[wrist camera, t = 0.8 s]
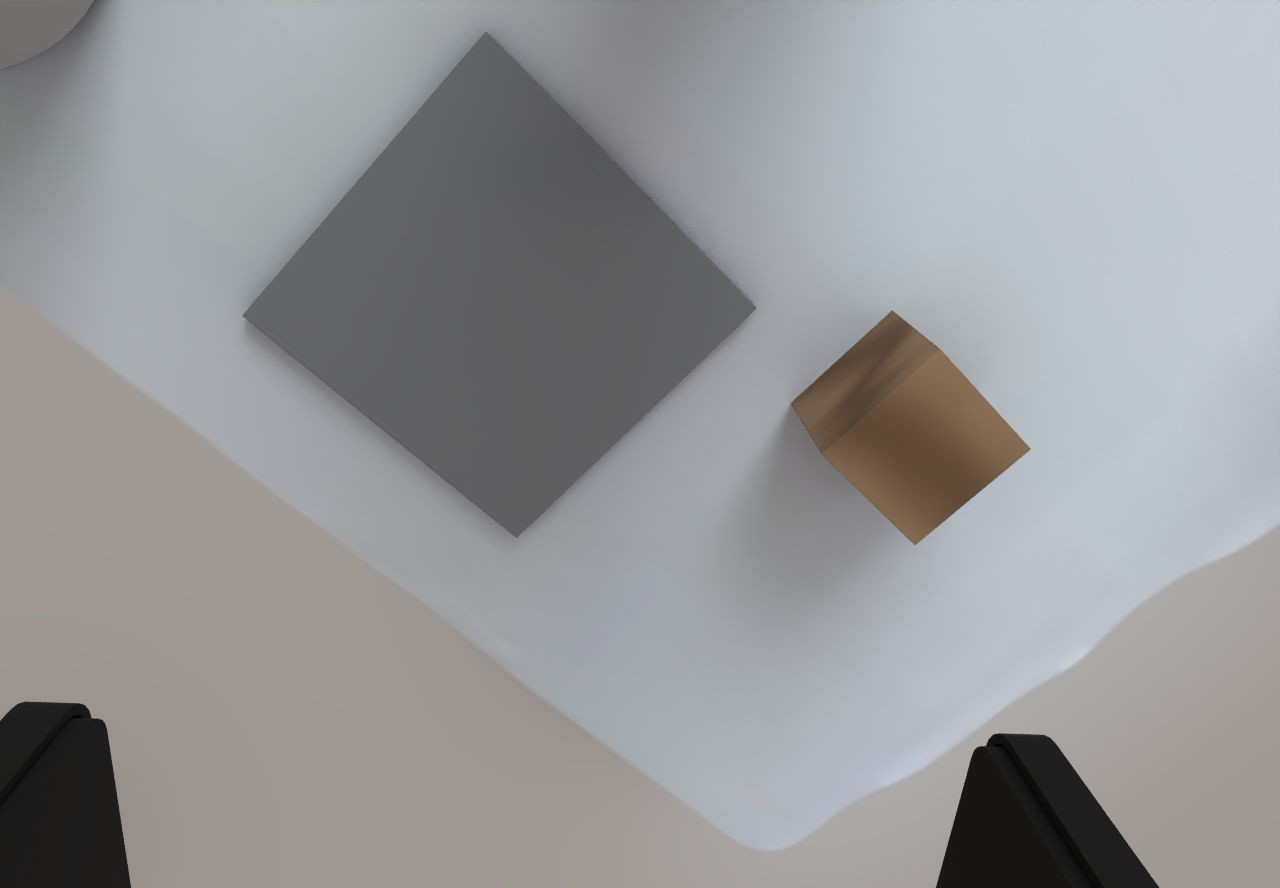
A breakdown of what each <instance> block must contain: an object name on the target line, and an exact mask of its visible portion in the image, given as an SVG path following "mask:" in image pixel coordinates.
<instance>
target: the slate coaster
mask: <svg viewBox="0 0 1280 888" xmlns="http://www.w3.org/2000/svg"><path fill="white" fill-rule="evenodd" d="M755 309H756V307H755V305H754V304H753V303H752V302H751V301H750V300H749V299H748V298H747V297H746V296H745V295H744V294H743V293H742V292H741V291H740V290H739V289H738V288H737V287H736V286H735V285H734V284H733V283H732V282H731V281H730V280H729V279H728V277H727V276H726V275H725V274H724V273H723V272H722V271H721V270H720V269H719V268H718V267H717V266H716V265H715V264H714V263H713V262H712V261H711V260H710V259H709V258H708V257H707V256H706V255H705V254H704V253H703V252H702V251H701V250H700V249H699V248H698V247H697V246H696V245H695V244H694V243H693V242H692V241H691V240H690V239H689V238H688V237H687V236H686V235H685V234H684V233H683V231H682V230H681V229H680V228H679V227H678V226H677V225H676V224H675V223H674V222H673V221H672V220H671V219H670V218H669V217H668V216H667V215H666V214H665V213H664V212H663V211H662V210H661V209H660V208H659V207H658V206H657V205H656V204H655V203H654V202H653V201H652V200H651V199H650V198H649V197H648V196H647V195H646V194H645V193H644V192H643V191H642V190H641V189H640V188H639V187H638V185H637V184H636V183H635V182H634V181H633V180H632V179H631V178H630V177H629V176H628V175H627V174H626V173H625V172H624V171H623V170H622V169H621V168H620V167H619V166H618V165H617V164H616V163H615V162H614V161H613V160H612V159H611V158H610V157H609V156H608V155H607V154H606V153H605V152H604V151H603V150H602V149H601V148H600V147H599V146H598V145H597V144H596V143H595V142H594V140H593V139H592V138H591V137H590V136H589V135H588V134H587V133H586V132H585V131H584V130H583V129H582V128H581V127H580V126H579V125H578V124H577V123H576V122H575V121H574V120H573V119H572V118H571V117H570V116H569V115H568V114H567V113H566V112H565V111H564V110H563V109H562V108H561V107H560V106H559V105H558V104H557V103H556V102H555V101H554V100H553V99H552V98H551V97H550V96H549V94H548V93H547V92H546V91H545V90H544V89H543V88H542V87H541V86H540V85H539V84H538V83H537V82H536V81H535V80H534V79H533V78H532V77H531V76H530V75H529V74H528V73H527V72H526V71H525V70H524V69H523V68H522V67H521V66H520V65H519V64H518V63H517V62H516V61H515V60H514V59H513V58H512V57H511V56H510V55H509V54H508V53H507V52H506V51H505V50H504V48H503V47H502V46H501V45H500V44H499V43H498V42H497V41H496V40H495V39H494V38H493V37H492V36H491V35H490V34H489V33H488V32H485V34H484V35H483V36H482V37H481V38H480V39H479V41H478V42H477V43H476V44H475V45H474V46H473V48H472V49H471V50H470V51H469V52H468V53H467V55H466V56H465V57H464V58H463V59H462V60H461V62H460V63H459V64H458V65H457V66H456V67H455V69H454V70H453V71H452V72H451V73H450V74H449V76H448V77H447V78H446V79H445V80H444V81H443V83H442V84H441V85H440V86H439V87H438V88H437V90H436V91H435V92H434V93H433V94H432V95H431V97H430V98H429V99H428V100H427V101H426V102H425V104H424V105H423V106H422V107H421V108H420V109H419V110H418V112H417V113H416V114H415V115H414V116H413V117H412V119H411V120H410V121H409V122H408V123H407V124H406V126H405V127H404V128H403V129H402V130H401V131H400V133H399V134H398V135H397V136H396V137H395V138H394V140H393V141H392V142H391V143H390V144H389V145H388V147H387V148H386V149H385V150H384V151H383V152H382V154H381V155H380V156H379V157H378V158H377V159H376V161H375V162H374V163H373V164H372V165H371V166H370V168H369V169H368V170H367V171H366V172H365V173H364V175H363V176H362V177H361V178H360V179H359V180H358V182H357V183H356V184H355V185H354V186H353V187H352V189H351V190H350V191H349V192H348V193H347V194H346V196H345V197H344V198H343V199H342V200H341V201H340V203H339V204H338V205H337V206H336V207H335V208H334V210H333V211H332V212H331V213H330V214H329V215H328V217H327V218H326V219H325V220H324V221H323V222H322V224H321V225H320V226H319V227H318V228H317V229H316V231H315V232H314V233H313V234H312V235H311V236H310V238H309V239H308V240H307V241H306V242H305V243H304V245H303V246H302V247H301V248H300V249H299V250H298V252H297V253H296V254H295V255H294V256H293V257H292V259H291V260H290V261H289V262H288V263H287V264H286V266H285V267H284V268H283V269H282V270H281V271H280V273H279V274H278V275H277V276H276V277H275V278H274V280H273V281H272V282H271V283H270V284H269V285H268V287H267V288H266V289H265V290H264V291H263V292H262V294H261V295H260V296H259V297H258V298H257V299H256V301H255V302H254V303H253V304H252V305H251V306H250V308H249V309H248V310H247V311H246V312H245V313H244V315H243V317H244V318H245V319H247V320H248V321H249V322H250V323H252V324H253V325H254V326H255V327H257V328H258V329H259V330H260V331H262V332H263V333H264V334H265V335H266V336H268V337H269V338H270V339H271V340H273V341H274V342H275V343H276V344H278V345H279V346H280V347H281V348H283V349H284V350H285V351H286V352H287V353H289V354H290V355H291V356H292V357H294V358H295V359H296V360H297V361H299V362H300V363H301V364H302V365H304V366H305V367H306V368H307V369H309V370H310V371H311V372H312V373H313V374H315V375H316V376H317V377H318V378H320V379H321V380H322V381H323V382H325V383H326V384H327V385H328V386H330V387H331V388H332V389H333V390H334V391H336V392H337V393H338V394H339V395H341V396H342V397H343V398H344V399H346V400H347V401H348V402H349V403H351V404H352V405H353V406H354V407H356V408H357V409H358V410H359V411H360V412H362V413H363V414H364V415H365V416H367V417H368V418H369V419H370V420H372V421H373V422H374V423H375V424H377V425H378V426H379V427H380V428H381V429H383V430H384V431H385V432H386V433H388V434H389V435H390V436H391V437H393V438H394V439H395V440H396V441H398V442H399V443H400V444H401V445H403V446H404V447H405V448H406V449H407V450H409V451H410V452H411V453H412V454H414V455H415V456H416V457H417V458H419V459H420V460H421V461H422V462H424V463H425V464H426V465H427V466H428V467H430V468H431V469H432V470H433V471H435V472H436V473H437V474H438V475H440V476H441V477H442V478H443V479H445V480H446V481H447V482H448V483H450V484H451V485H452V486H453V487H454V488H456V489H457V490H458V491H459V492H461V493H462V494H463V495H464V496H466V497H467V498H468V499H469V500H471V501H472V502H473V503H474V504H475V505H477V506H478V507H479V508H480V509H482V510H483V511H484V512H485V513H487V514H488V515H489V516H490V517H492V518H493V519H494V520H495V521H497V522H498V523H499V524H500V525H501V526H503V527H504V528H505V529H506V530H508V531H509V532H510V533H511V534H513V535H514V536H515V537H516V538H517V537H518V536H519V535H520V534H521V533H522V532H523V531H524V530H525V529H526V528H527V527H528V526H529V525H530V524H531V523H533V522H534V521H535V520H536V519H537V518H538V517H539V516H540V515H541V514H542V513H543V512H544V511H545V510H546V509H547V508H548V507H549V506H550V505H551V504H552V503H553V502H554V501H556V500H557V499H558V498H559V497H560V496H561V495H562V494H563V493H564V492H565V491H566V490H567V489H568V488H569V487H570V486H571V485H572V484H573V483H574V482H575V481H576V480H577V479H579V478H580V477H581V476H582V475H583V474H584V473H585V472H586V471H587V470H588V469H589V468H590V467H591V466H592V465H593V464H594V463H595V462H596V461H597V460H598V459H599V458H600V457H601V456H603V455H604V454H605V453H606V452H607V451H608V450H609V449H610V448H611V447H612V446H613V445H614V444H615V443H616V442H617V441H618V440H619V439H620V438H621V437H622V436H623V435H624V434H626V433H627V432H628V431H629V430H630V429H631V428H632V427H633V426H634V425H635V424H636V423H637V422H638V421H639V420H640V419H641V418H642V417H643V416H644V415H645V414H646V413H647V412H649V411H650V410H651V409H652V408H653V407H654V406H655V405H656V404H657V403H658V402H659V401H660V400H661V399H662V398H663V397H664V396H665V395H666V394H667V393H668V392H669V391H670V390H671V389H673V388H674V387H675V386H676V385H677V384H678V383H679V382H680V381H681V380H682V379H683V378H684V377H685V376H686V375H687V374H688V373H689V372H690V371H691V370H692V369H693V368H694V367H696V366H697V365H698V364H699V363H700V362H701V361H702V360H703V359H704V358H705V357H706V356H707V355H708V354H709V353H710V352H711V351H712V350H713V349H714V348H715V347H716V346H717V345H719V344H720V343H721V342H722V341H723V340H724V339H725V338H726V337H727V336H728V335H729V334H730V333H731V332H732V331H733V330H734V329H735V328H736V327H737V326H738V325H739V324H740V323H741V322H743V321H744V320H745V319H746V318H747V317H748V316H749V315H750V314H751V313H752V312H753V311H754V310H755Z"/></svg>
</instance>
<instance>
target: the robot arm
mask: <svg viewBox="0 0 1280 888" xmlns="http://www.w3.org/2000/svg"><path fill="white" fill-rule="evenodd" d="M0 888H131V884H130V878H129V871H128V864H127V858H126V851H125V845H124V838H123V832H122V825H121V818H120V812H119V806H118V799H117V792H116V786H115V779H114V772H113V766H112V760H111V753H110V746H109V740H108V733H107V728H106V725H105V723H104V722H103V720H100V719H92V718H91V715H90V711H89V710H88V708H87V707H86V706H85V705H83V704H79V703H49V702H48V703H47V702H22V703H19V704H17V705H16V706H15V707H14V708H12V709H11V710H10V711H9V712H8V713H7V714H6V715H5V716H4V717H3V719H2V720H1V721H0ZM936 888H1159V887H1158V885H1157V884H1156V883H1155V881H1154V880H1153V878H1152V877H1151V876H1150V874H1149V873H1148V871H1147V870H1146V869H1145V867H1144V866H1143V864H1142V863H1141V862H1140V860H1139V859H1138V857H1137V856H1136V855H1135V853H1134V852H1133V850H1132V849H1131V848H1130V846H1129V845H1128V844H1127V842H1126V841H1125V839H1124V838H1123V837H1122V835H1121V834H1120V833H1119V831H1118V830H1117V828H1116V827H1115V825H1114V824H1113V823H1112V821H1111V820H1110V818H1109V817H1108V816H1107V814H1106V813H1105V811H1104V810H1103V809H1102V807H1101V806H1100V804H1099V803H1098V802H1097V800H1096V799H1095V798H1094V796H1093V795H1092V793H1091V792H1090V791H1089V789H1088V788H1087V786H1086V785H1085V784H1084V782H1083V781H1082V780H1081V778H1080V777H1079V775H1078V774H1077V772H1076V771H1075V770H1074V768H1073V767H1072V765H1071V764H1070V763H1069V761H1068V760H1067V758H1066V757H1065V756H1064V754H1063V753H1062V752H1061V750H1060V749H1059V747H1058V746H1057V745H1056V744H1055V742H1054V741H1053V740H1052V739H1051V738H1050V737H1047V736H1045V735H1030V734H994V735H992V736H991V738H990V739H989V740H988V742H987V745H986V746H980V747H977V748H976V749H975V750H974V752H973V755H972V758H971V761H970V765H969V768H968V772H967V776H966V780H965V783H964V787H963V790H962V794H961V798H960V802H959V805H958V809H957V812H956V816H955V820H954V824H953V827H952V831H951V835H950V838H949V842H948V846H947V849H946V853H945V857H944V860H943V864H942V868H941V871H940V875H939V879H938V882H937V886H936Z"/></svg>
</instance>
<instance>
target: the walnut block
mask: <svg viewBox="0 0 1280 888" xmlns="http://www.w3.org/2000/svg"><path fill="white" fill-rule="evenodd" d="M791 404H792V406H793V407H794V409H795V411H796V412H797V414H798V416H799V417H800V419H801V421H802V422H803V424H804V426H805V427H806V429H807V431H808V432H809V434H810V436H811V437H812V439H813V441H814V442H815V444H816V446H817V447H818V449H819V450H820V452H821V454H822V455H823V456H824V457H825V458H826V459H827V460H828V461H829V462H830V463H831V464H832V465H833V466H834V467H835V468H836V469H837V470H838V471H839V472H840V473H841V474H843V475H844V476H845V477H846V478H847V479H848V480H849V481H850V482H851V483H852V484H853V485H854V486H855V487H856V488H857V489H858V490H859V491H860V492H861V493H862V494H863V495H864V496H865V497H866V498H867V499H868V500H869V501H870V502H871V503H872V504H873V505H874V506H875V507H876V508H877V509H878V510H879V511H880V512H881V513H882V514H883V515H884V516H885V517H886V518H887V519H888V520H889V521H891V522H892V523H893V524H894V525H895V526H896V527H897V528H898V529H899V530H900V531H901V532H902V533H903V534H904V535H905V536H906V537H907V538H908V539H909V540H910V541H911V542H912V543H913V544H914V545H916V544H917V543H918V542H919V541H921V540H922V539H923V538H924V537H925V536H927V535H928V534H929V533H930V532H932V531H933V530H934V529H935V528H936V527H938V526H939V525H940V524H941V523H942V522H944V521H945V520H946V519H947V518H948V517H950V516H951V515H952V514H953V513H954V512H956V511H957V510H958V509H959V508H960V507H962V506H963V505H964V504H965V503H966V502H968V501H969V500H970V499H971V498H973V497H974V496H975V495H976V494H977V493H979V492H980V491H981V490H982V489H983V488H985V487H986V486H987V485H988V484H989V483H991V482H992V481H993V480H994V479H995V478H997V477H998V476H999V475H1000V474H1001V473H1003V472H1004V471H1005V470H1006V469H1007V468H1009V467H1010V466H1011V465H1012V464H1014V463H1015V462H1016V461H1017V460H1018V459H1020V458H1021V457H1022V456H1023V455H1024V454H1026V453H1027V452H1028V451H1029V450H1030V448H1029V447H1028V445H1027V444H1026V443H1025V442H1024V441H1023V440H1022V439H1021V438H1020V437H1019V436H1018V434H1017V433H1016V432H1015V431H1014V430H1013V429H1012V428H1011V427H1010V426H1009V425H1008V423H1007V422H1006V421H1005V420H1004V419H1003V418H1002V417H1001V416H1000V415H999V414H998V412H997V411H996V410H995V409H994V408H993V407H992V406H991V405H990V404H989V403H988V401H987V400H986V399H985V398H984V397H983V396H982V395H981V394H980V393H979V392H978V390H977V389H976V388H975V387H974V386H973V385H972V384H971V383H970V382H969V381H968V379H967V378H966V377H965V376H964V375H963V374H962V373H961V372H960V371H959V369H958V368H957V367H956V366H955V365H954V364H953V363H952V362H951V361H950V360H949V358H948V357H947V356H946V355H945V354H944V353H943V352H942V351H941V350H940V349H939V348H938V347H937V346H936V345H934V344H933V343H932V342H931V341H929V340H928V339H927V338H926V337H924V336H923V335H922V334H921V333H919V332H918V331H917V330H916V329H914V328H913V327H912V326H911V325H909V324H908V323H907V322H906V321H904V320H903V319H902V318H901V317H899V316H898V315H897V314H896V313H894V312H893V311H891V312H890V313H889V314H888V315H887V316H886V317H885V318H884V319H883V320H881V321H880V322H879V323H878V324H877V325H876V326H875V327H874V328H873V329H872V330H870V331H869V332H868V333H867V334H866V335H865V336H864V337H863V338H862V339H861V340H860V341H858V342H857V343H856V344H855V345H854V346H853V347H852V348H851V349H850V350H849V351H847V352H846V353H845V354H844V355H843V356H842V357H841V358H840V359H839V360H838V361H837V362H835V363H834V364H833V365H832V366H831V367H830V368H829V369H828V370H827V371H826V372H824V373H823V374H822V375H821V376H820V377H819V378H818V379H817V380H816V381H815V382H814V383H812V384H811V385H810V386H809V387H808V388H807V389H806V390H805V391H804V392H803V393H802V394H800V395H799V396H798V397H797V398H796V399H795V400H794V401H793V402H792V403H791Z"/></svg>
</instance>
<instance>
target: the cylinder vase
mask: <svg viewBox="0 0 1280 888" xmlns="http://www.w3.org/2000/svg"><path fill="white" fill-rule="evenodd" d="M93 2H94V0H0V69H3V68H7V67H10V66H13V65H16V64H19V63H22V62H24V61H27V60H29V59H31V58H33V57H35V56H37V55H39V54H41V53H43V52H44V51H46V50H48V49H49V48H51V47H52V46H53V45H55V44H56V43H58V42H59V41H60V40H61V39H62V38H64V37H65V36H66V35H67V34H68V33H69V32H70V31H71V30H72V29H73V28H74V27H75V26H76V25H77V24H78V23H79V21H80V20H81V19H82V18H83V16H84V15H85V14H86V12H87V11H88V9H89V8H90V6H91V5H92V3H93Z"/></svg>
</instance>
